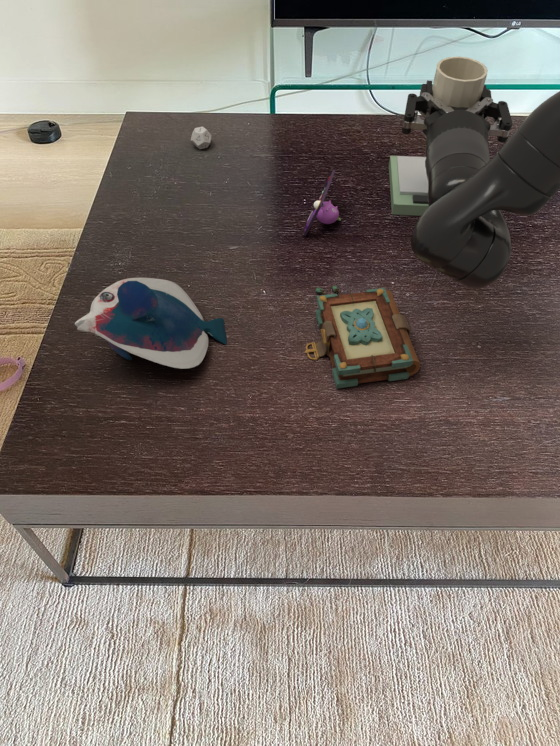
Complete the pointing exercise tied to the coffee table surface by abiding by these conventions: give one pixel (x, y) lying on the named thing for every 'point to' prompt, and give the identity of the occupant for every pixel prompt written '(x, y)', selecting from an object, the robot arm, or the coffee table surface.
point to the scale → (408, 185)
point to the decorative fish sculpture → (152, 322)
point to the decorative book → (364, 337)
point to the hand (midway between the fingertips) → (454, 89)
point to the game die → (201, 137)
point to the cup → (459, 81)
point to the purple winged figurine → (323, 209)
